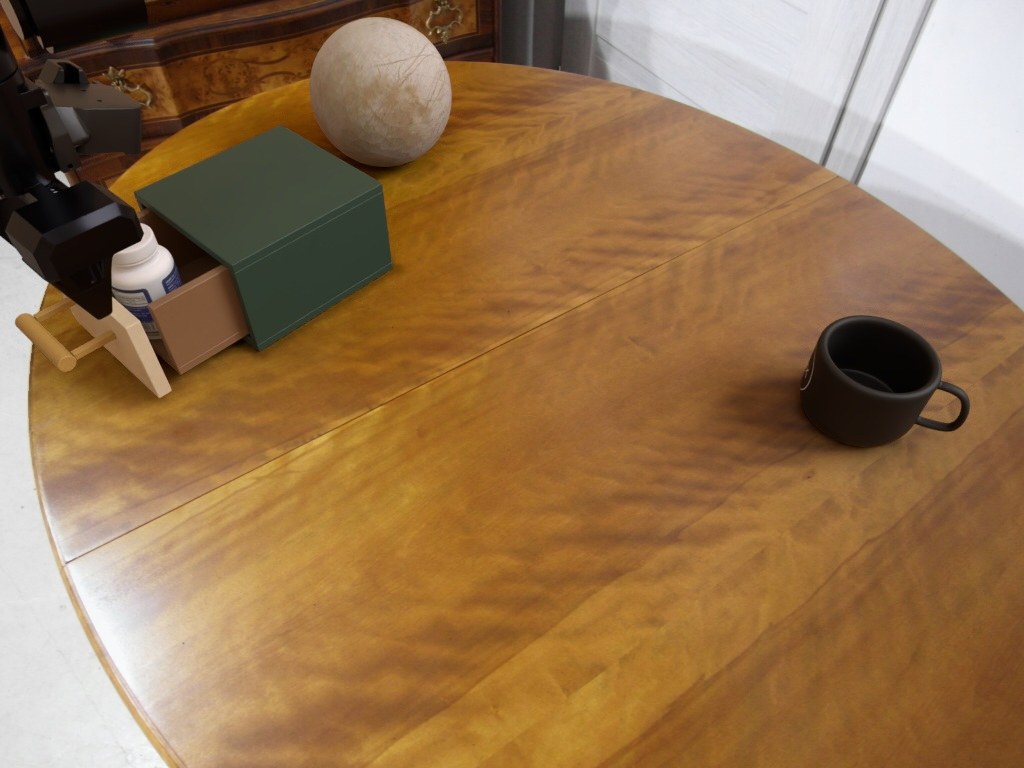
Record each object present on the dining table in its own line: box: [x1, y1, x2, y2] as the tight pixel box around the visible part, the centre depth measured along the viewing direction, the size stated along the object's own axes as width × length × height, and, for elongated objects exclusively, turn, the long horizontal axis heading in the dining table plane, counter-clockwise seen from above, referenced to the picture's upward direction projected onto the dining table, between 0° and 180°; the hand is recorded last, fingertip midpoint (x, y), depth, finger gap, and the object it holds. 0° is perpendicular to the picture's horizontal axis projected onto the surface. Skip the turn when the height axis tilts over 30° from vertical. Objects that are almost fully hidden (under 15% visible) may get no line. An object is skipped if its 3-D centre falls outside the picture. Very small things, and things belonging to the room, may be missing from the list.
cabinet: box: [133, 124, 394, 353], centre depth 71 cm, size 16×15×10 cm
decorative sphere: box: [309, 16, 453, 168], centre depth 83 cm, size 15×15×15 cm
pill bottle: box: [112, 223, 184, 339], centre depth 64 cm, size 5×5×9 cm
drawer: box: [14, 208, 249, 399], centre depth 65 cm, size 19×13×8 cm
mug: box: [799, 314, 971, 448], centre depth 61 cm, size 12×9×7 cm
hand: (70, 286), depth 55 cm, fingers open, 9 cm apart
